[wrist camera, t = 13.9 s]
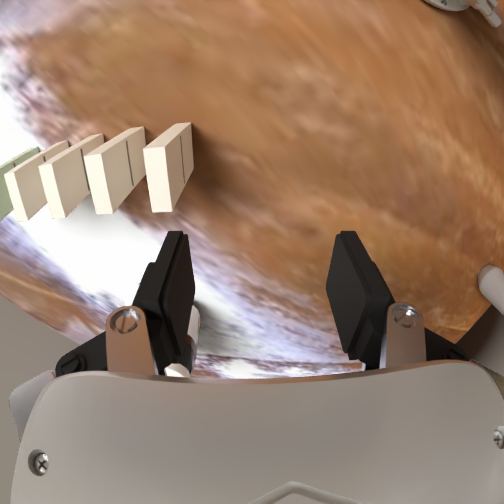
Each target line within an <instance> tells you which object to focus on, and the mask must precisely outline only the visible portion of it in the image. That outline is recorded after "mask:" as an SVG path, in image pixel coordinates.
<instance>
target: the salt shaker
mask: <svg viewBox="0 0 504 504" xmlns="http://www.w3.org/2000/svg"><path fill="white" fill-rule="evenodd" d="M477 277H478V284H479V289H480V291H481V293H482V294H483V295H484V296H485V297H486V298H487V299H488V300H489V301H490V302H491V303H492V304H493V305H494V306H495V307H496V308H497V309H498V310H499V311H500V312H501V313H502V314H503V315H504V273H503V271H502V269H500V268H498V267H496V266H493V265H491V264H488V265H486V266H485V267H483V268H482V269H481V271H480V272H479V274H478V276H477Z"/></svg>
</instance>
